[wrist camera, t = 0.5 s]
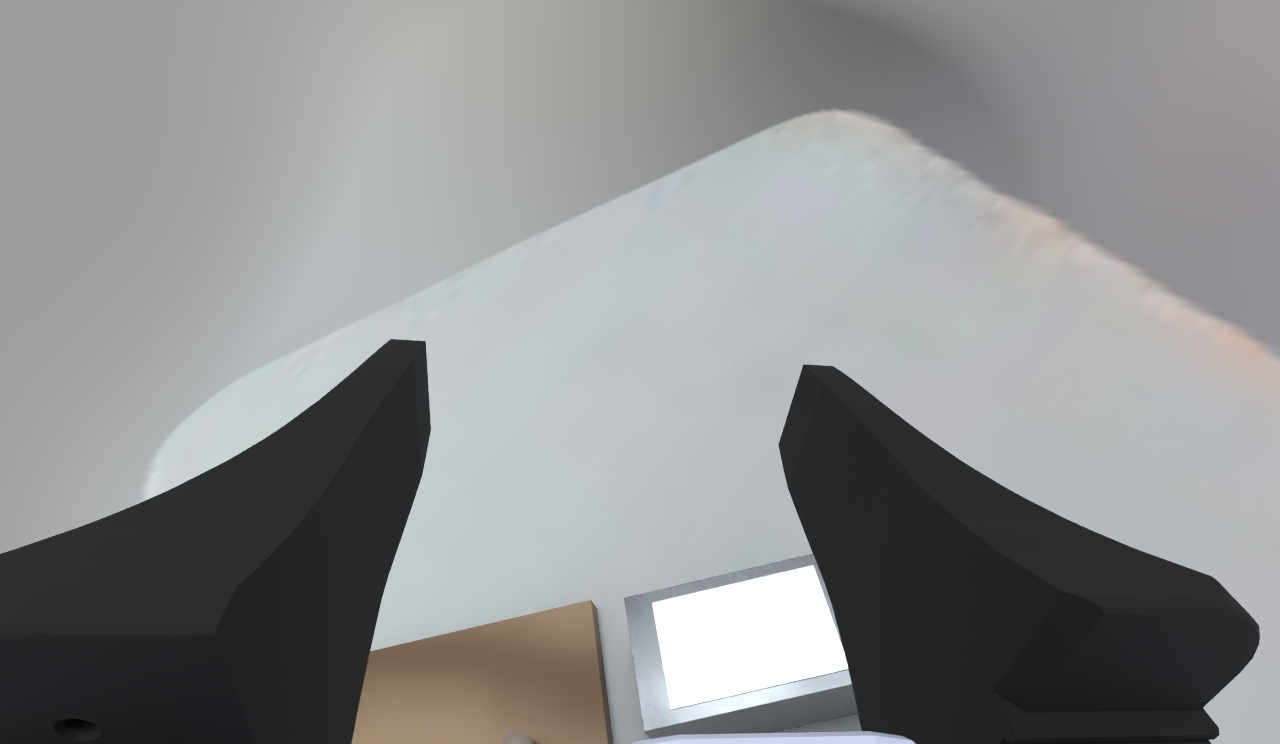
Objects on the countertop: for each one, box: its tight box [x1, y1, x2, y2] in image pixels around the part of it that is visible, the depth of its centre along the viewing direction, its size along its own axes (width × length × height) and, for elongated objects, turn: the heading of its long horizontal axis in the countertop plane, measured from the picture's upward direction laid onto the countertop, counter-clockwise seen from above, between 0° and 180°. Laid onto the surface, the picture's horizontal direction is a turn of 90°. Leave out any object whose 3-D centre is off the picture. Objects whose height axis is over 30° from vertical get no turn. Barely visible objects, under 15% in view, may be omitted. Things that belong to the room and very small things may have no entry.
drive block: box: [624, 554, 858, 739], centre depth 25 cm, size 4×8×5 cm, turn 100°
